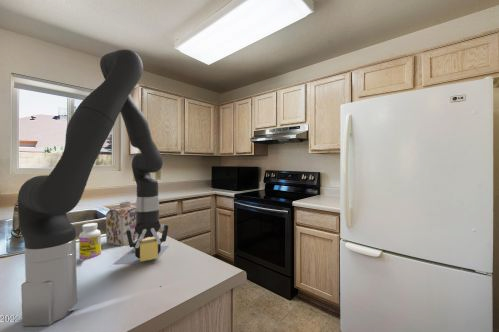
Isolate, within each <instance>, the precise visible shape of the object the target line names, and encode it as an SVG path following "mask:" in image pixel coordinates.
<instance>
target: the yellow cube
mask: <svg viewBox="0 0 499 332" xmlns="http://www.w3.org/2000/svg"><path fill="white" fill-rule="evenodd" d="M139 247H140V258H139V259H140V262H141V261H146V260H151V259H156V258H158V241H156V240H155V238H154V237H147V238H145V239H143V240H142V242H141V243H140V246H139ZM158 259H159V258H158Z"/></svg>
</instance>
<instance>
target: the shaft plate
mask: <svg viewBox="0 0 499 332" xmlns="http://www.w3.org/2000/svg"><path fill="white" fill-rule="evenodd" d="M136 240H137V239H136ZM136 240H135V241H134V243H136ZM169 247H170V245H161V251H160V253H159V254H158V258H156V259H151V260H146V261H141V262H140V259H139V258H137V257H136V256H135V248H134V247H132V248H131V249H130V250H129V251H128V252H126V253H125V254H124V255H122V256H121V257H120V258H119V259H118V260H116V261H115V262H113V265H131V264H132V265H137V264H139V265H140V264H142V265H143V264H148V265H149V264H152V265H153V264H155V263H156V262H157V261H158V259H160V258H161V256H162V255H163V254H164V253H165V252H166V251H167V250H168V248H169Z"/></svg>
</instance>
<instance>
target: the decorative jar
mask: <svg viewBox="0 0 499 332" xmlns="http://www.w3.org/2000/svg"><path fill="white" fill-rule="evenodd" d="M135 226H136V204H132V201H121V202H119V205H116V206H113V207H111V208H110V209H109V210H108V211H107V212H106V213H105V231H106V232H105V237H106V244H109V245H113V246H118V247H125V246H129V242H128V237H127V233H126V230H127V229H132V228H135ZM138 235H139V234H138V233H137V232H136V231H134V234H133V235H131V236H132V241H133V242H134V241H135V240H136V239H137V237H138ZM143 239H146V238H143Z"/></svg>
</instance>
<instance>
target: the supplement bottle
mask: <svg viewBox="0 0 499 332" xmlns="http://www.w3.org/2000/svg"><path fill="white" fill-rule="evenodd" d="M81 226H82V227H81V229H82V231H80V233H79V236H78V238H79V240H78V242H79V243H78V245H79V248H78V249H79V251H78V252H79V254H78V255H79V258H78V259H79V261H81V262H85V261H84V260H88V259H92V258H93V259H94V258H97V257H98V256H100V255H101V254H102V237H101V236H102V235H101V230H100V229H98V223H97V222H89V223H88V222H87V223H83V225H81Z"/></svg>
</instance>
